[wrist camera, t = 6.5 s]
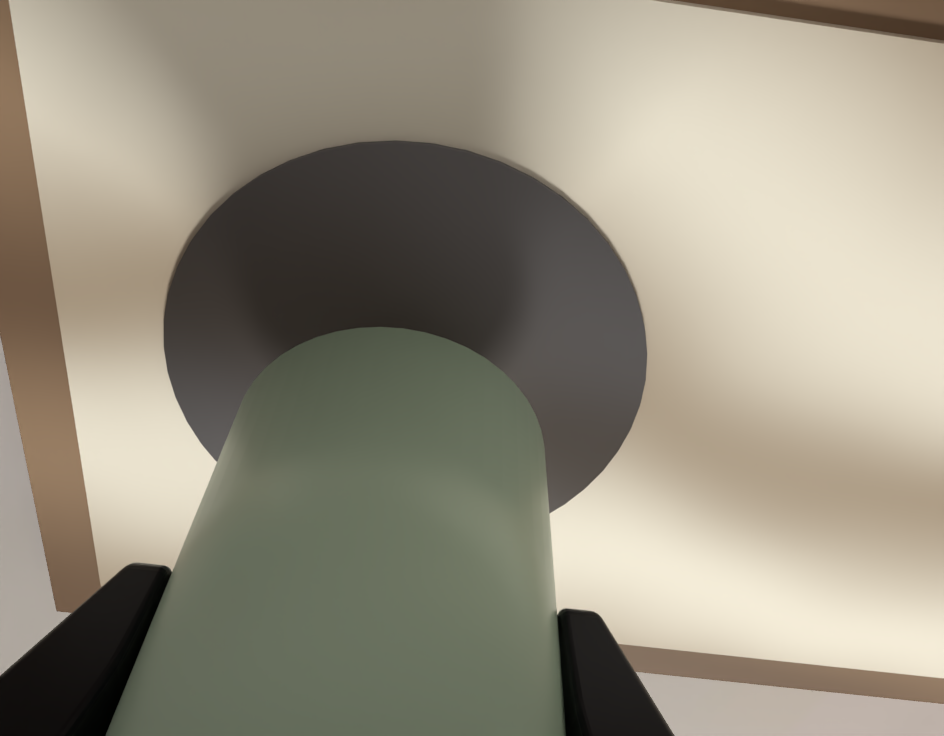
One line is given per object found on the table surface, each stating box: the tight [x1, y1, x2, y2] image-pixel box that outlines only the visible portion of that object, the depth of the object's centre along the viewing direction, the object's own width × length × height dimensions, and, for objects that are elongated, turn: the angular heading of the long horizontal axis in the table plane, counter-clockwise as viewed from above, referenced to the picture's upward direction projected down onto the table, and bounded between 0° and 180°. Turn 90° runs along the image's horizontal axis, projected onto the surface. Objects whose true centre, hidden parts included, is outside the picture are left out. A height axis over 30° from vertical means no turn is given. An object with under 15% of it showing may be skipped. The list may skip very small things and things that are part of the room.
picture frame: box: [0, 0, 944, 704], centre depth 13 cm, size 13×18×2 cm
